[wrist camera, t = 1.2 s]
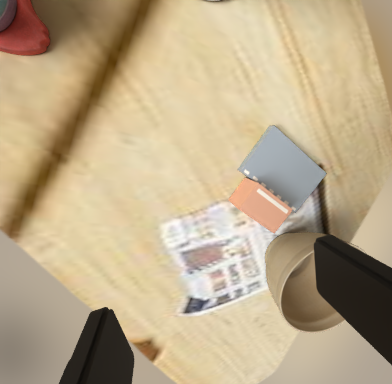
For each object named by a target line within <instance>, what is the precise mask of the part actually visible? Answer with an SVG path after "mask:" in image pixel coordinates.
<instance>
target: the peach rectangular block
mask: <svg viewBox="0 0 392 384" xmlns="http://www.w3.org/2000/svg"><path fill="white" fill-rule="evenodd" d="M229 201H230V202H231V203H232V204H233V205H235V206H236V207H237V208H238V209H239V210H241V211H242V212H244V213H245V214H247V215H248V216H249V217H251V218H252V219H254V220H255V221H257V222H258V223H260V224H261V225H262V226H264V227H265V228H267V229H268V230H270V231H271V232H273V233H275V232H276V231H277V229H278V228H279V227H280V225H281V224H282V223H283V222H284V220H285V219H286V218H287V217H288V215H289V214H290V213H291V212H292V210H293V209H292V208H290V207H289V206H288V205H286V204H285V203H284V202H282V201H281V200H280V199H279V198H277V197H276V196H275V195H273V194H272V193H271V192H269V191H268V190H267V189H266V188H264V187H263V186H262V185H260V184H259V183H257V182H255V181H252V180H250V179H248V178H244V180H243V181H242V182H241V184H240V185H239V186H238V188H237V189H236V190H235V192H234V193H233V194H232V196H231V197H230V198H229Z"/></svg>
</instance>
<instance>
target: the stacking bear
mask: <svg viewBox="0 0 392 384" xmlns="http://www.w3.org/2000/svg"><path fill="white" fill-rule="evenodd" d="M49 44H50V39H49V32H48V29H47V27H46V26H45V25H44V24H43V23H42V21H41V20H40V19H39V18H38V16H37V15H36V13H35V11H34V9H33V7H32V4H31V0H0V51H3V52H7V53H11V54H17V55H35V54H40V53H43V52H45V51H46V49H47V46H48V45H49Z"/></svg>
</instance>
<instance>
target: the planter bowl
mask: <svg viewBox="0 0 392 384" xmlns="http://www.w3.org/2000/svg"><path fill="white" fill-rule="evenodd" d="M322 236H325V234H321V233H314V232H301V233H286V234H282V235H280V236H278V237H277V238H275V239H274V240H273V241H272V242H271V243H270V245H269V246H268V248H267V250H266V254H265V263H266V278H267V283H268V287H269V290H270V292H271V295H272V297H273V299H274V301H275V303H276V305H277V306H278V308H279V310H280V313H281V315H282V316H283V318H284V319H285V321H286V322H287V323H288V324H289V325H290V326H291V327H292V328H294V329H296V330H298V331H301V332H306V333H318V332H323V331H327V330H330V329H333V328H335V327H337V326H339V325H340V324H342V323H343V322H345V321H346V320H345V319H344V318H343V317H342V316H341V315H340V314H339V313H338V312H337V311H336V310H335V309H334V308H333V307H332V306H331V305H330V304H329V303H328V302H327V301H326V300H325V299H323V298H322V297H321V295H320V294H319V293H318V291H317V287H316V273H315V259H314V243H315V242H316V238H319V237H322ZM344 242H345V241H344ZM345 243H347V244H349V245H351V246H353V247H354V248H356V249H358V250H360V251H362V252H364V251H363V250H362V249H361V248H359V247H358V246H356V245H353V244H351V243H349V242H345ZM364 253H365V252H364ZM365 254H366V253H365Z"/></svg>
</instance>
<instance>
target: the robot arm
mask: <svg viewBox="0 0 392 384" xmlns="http://www.w3.org/2000/svg"><path fill="white" fill-rule="evenodd" d="M208 1H219V0H208ZM314 259H315V273H316V287H317V291H318V293H319V294H320V295H321V297H322V298H323V299H325V300H326V301H327V302H328V303H329V304H330V305H331V306H332V307H333V308H334V309H335V310H336V311H337V312H338V313H339V314H340V315H341V316H342V317H343V318H344V319H345V320H346V321H347V322H348V323H349V324H350V325H351V326H352V327H353V328H354V329H355V330H356V331H357V332H358V333H359V334H360V335H361V336H362V337H363V338H364V339H366V340H367V341H368V342H369V343H370V344H371V345H372V346H373V347H374V348H375V349H376V350H377V351H378V352H379V353H380V354H381V355H382V356H383V357H384V358H385V359H386V360H387V361H388V362H389V363H390V364H391V365H392V268H391V267H389V266H387V265H385V264H383V263H381V262H380V261H378V260H376V259H374V258H373V257H371V256H369V255H367V254H365V253H364V252H362V251H360V250H358V249H356V248H354V247H353V246H351V245H349V244H347V243H345V242H344V241H342V240H340V239H338V238H336V237H335V236H333V235H330V234H328V235H325V236H322V237H319V238H316V242H315V243H314ZM133 368H134V355H133V352H132V350H131V347H130V346H129V343H128V341H127V339H126V337H125V335H124V333H123V330H122V328H121V326H120V324H119V322H118V320H117V318H116V316H115V314H114V311H113V310H112V309H110V310H109V309H108V308H107V307H104V308H101V309H98V310H95V311H92V312H91V313H90V315H89V317H88V319H87V321H86V324H85V326H84V329H83V331H82V333H81V336H80V338H79V340H78V343H77V345H76V348H75V350H74V353H73V355H72V357H71V359H70V360H69V362H68V364H67V366H66V368H65V370H64V373H63V375H62V377H61V380H60V382H59V384H132V376H133Z"/></svg>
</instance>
